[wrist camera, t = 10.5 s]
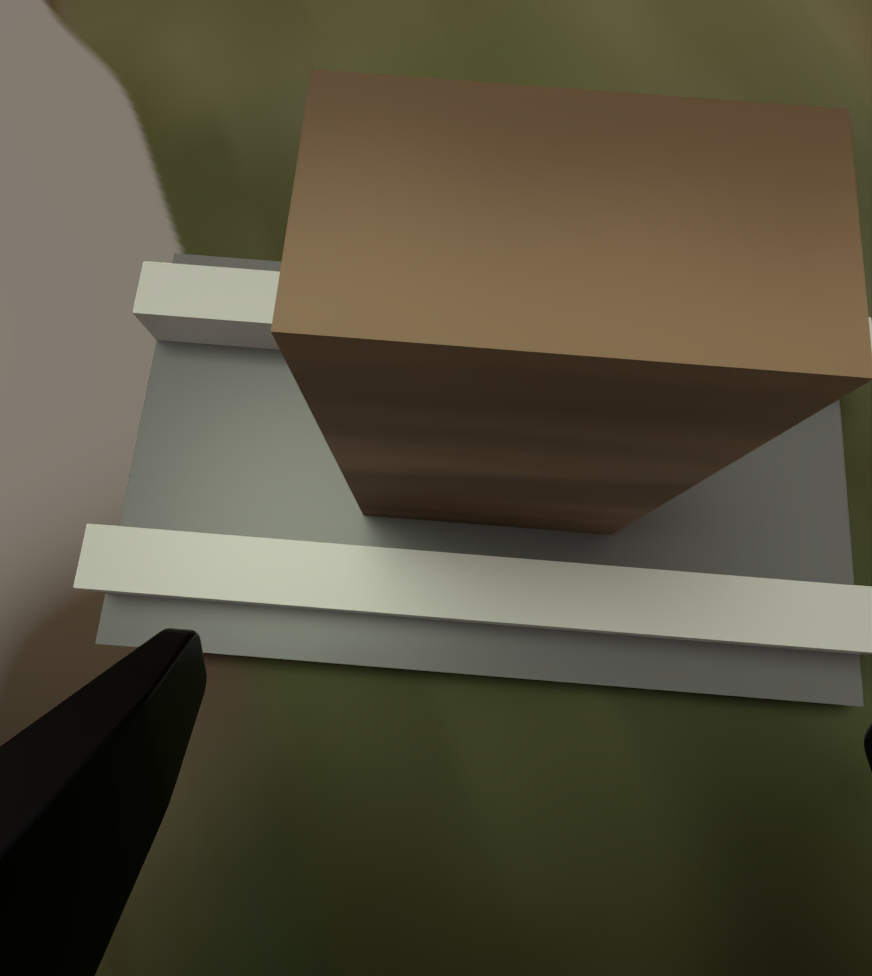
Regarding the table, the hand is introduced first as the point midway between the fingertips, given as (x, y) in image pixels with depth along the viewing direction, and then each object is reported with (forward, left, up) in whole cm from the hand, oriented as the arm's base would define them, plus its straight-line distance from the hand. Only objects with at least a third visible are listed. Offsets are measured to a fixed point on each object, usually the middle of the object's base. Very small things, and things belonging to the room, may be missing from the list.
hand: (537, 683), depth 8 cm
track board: (+4, +4, -9) cm, 10 cm away
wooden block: (+4, +4, -8) cm, 9 cm away
